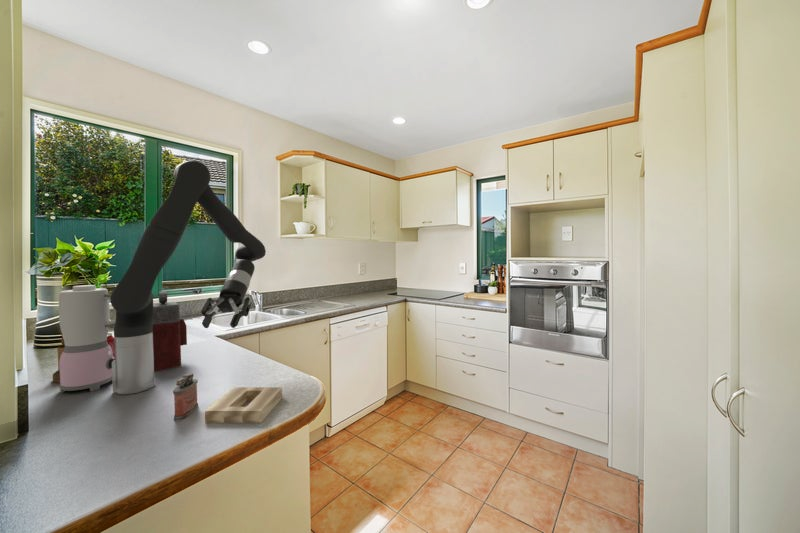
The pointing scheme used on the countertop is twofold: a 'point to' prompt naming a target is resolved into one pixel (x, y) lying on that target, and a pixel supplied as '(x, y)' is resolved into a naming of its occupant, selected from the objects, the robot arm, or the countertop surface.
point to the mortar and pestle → (60, 350)
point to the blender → (85, 338)
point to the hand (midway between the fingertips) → (218, 326)
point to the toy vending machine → (167, 334)
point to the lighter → (185, 397)
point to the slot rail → (255, 412)
